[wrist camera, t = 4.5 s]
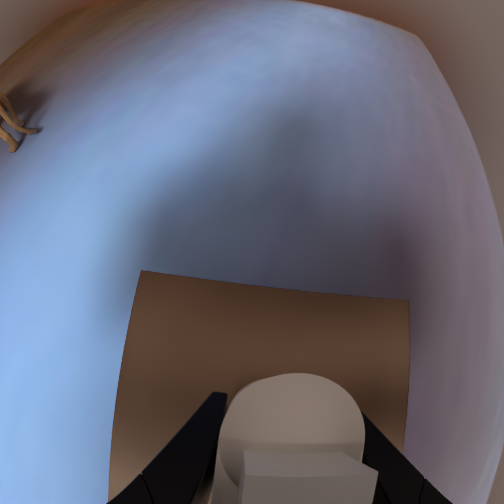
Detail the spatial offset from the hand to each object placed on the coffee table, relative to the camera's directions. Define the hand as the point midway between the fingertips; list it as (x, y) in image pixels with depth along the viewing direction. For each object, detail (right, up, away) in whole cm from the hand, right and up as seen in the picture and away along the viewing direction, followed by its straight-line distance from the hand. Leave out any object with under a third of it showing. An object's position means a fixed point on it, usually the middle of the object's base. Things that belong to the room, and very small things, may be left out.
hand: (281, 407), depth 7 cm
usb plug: (0, -2, +2) cm, 3 cm away
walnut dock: (0, -4, +6) cm, 7 cm away
